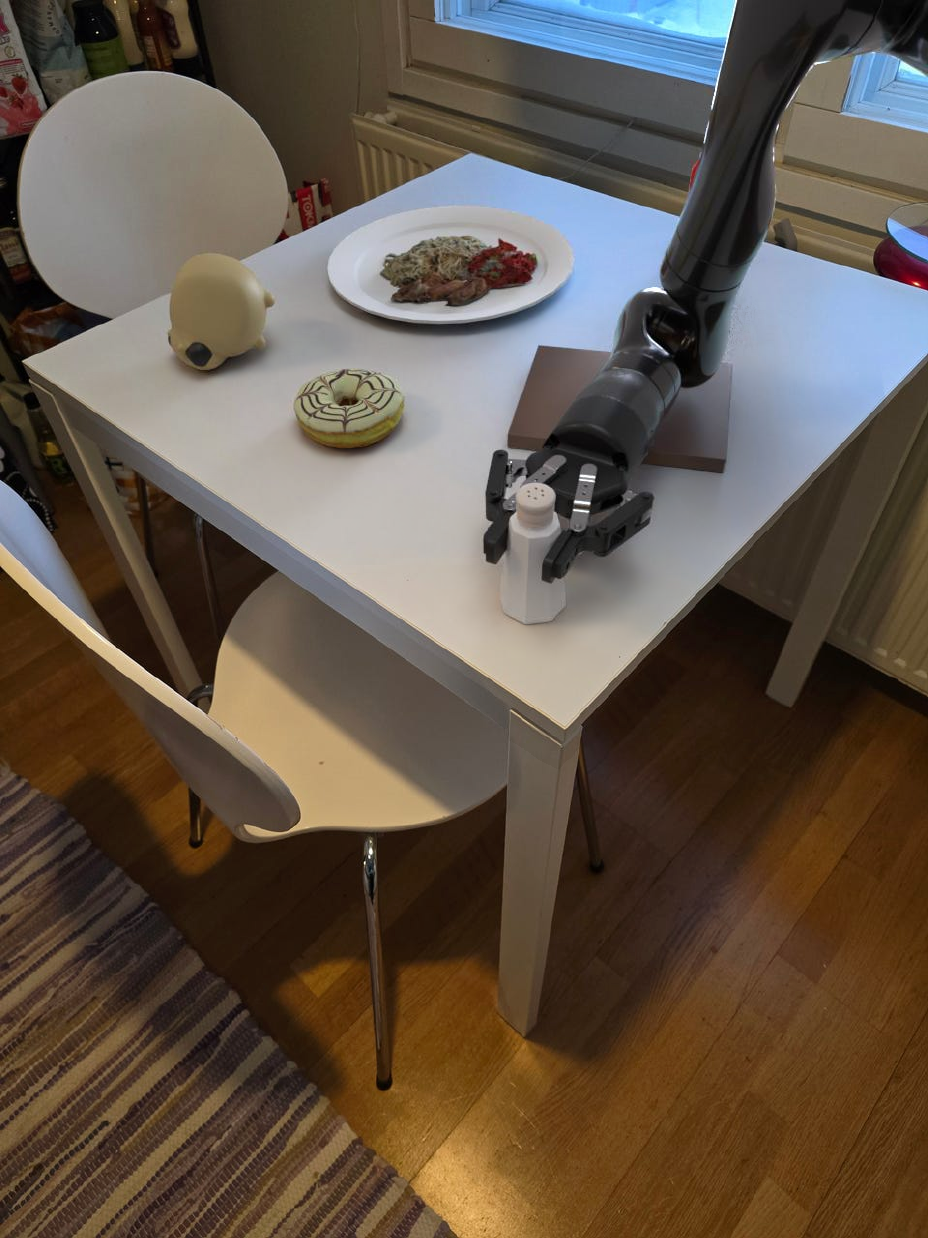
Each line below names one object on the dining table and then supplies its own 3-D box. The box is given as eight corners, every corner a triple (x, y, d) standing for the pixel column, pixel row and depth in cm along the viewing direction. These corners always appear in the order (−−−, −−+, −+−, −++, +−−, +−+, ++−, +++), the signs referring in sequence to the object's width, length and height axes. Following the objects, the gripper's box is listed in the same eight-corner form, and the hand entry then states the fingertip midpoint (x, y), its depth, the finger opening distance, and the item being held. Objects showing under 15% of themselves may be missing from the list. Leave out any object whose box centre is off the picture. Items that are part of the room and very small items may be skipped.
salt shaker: (542, 567, 69) (547, 459, 61) (580, 608, 66) (590, 501, 58) (485, 592, 67) (482, 485, 59) (521, 636, 64) (523, 529, 56)
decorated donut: (354, 380, 88) (350, 348, 86) (427, 419, 83) (424, 386, 80) (277, 425, 83) (269, 392, 81) (349, 469, 78) (343, 436, 76)
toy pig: (217, 363, 98) (131, 328, 90) (261, 267, 95) (175, 222, 87) (252, 398, 93) (163, 365, 85) (300, 298, 89) (212, 253, 81)
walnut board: (729, 376, 86) (732, 363, 85) (723, 473, 76) (726, 459, 75) (537, 357, 90) (538, 344, 89) (507, 447, 80) (507, 434, 79)
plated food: (308, 243, 110) (303, 216, 108) (521, 204, 116) (522, 178, 113) (361, 358, 91) (357, 329, 89) (614, 305, 96) (617, 277, 94)
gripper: (529, 374, 69) (428, 496, 60) (696, 416, 65) (616, 557, 55) (527, 447, 75) (434, 571, 65) (681, 491, 70) (606, 631, 60)
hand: (518, 563), depth 60 cm, fingers closed on salt shaker, 4 cm apart
